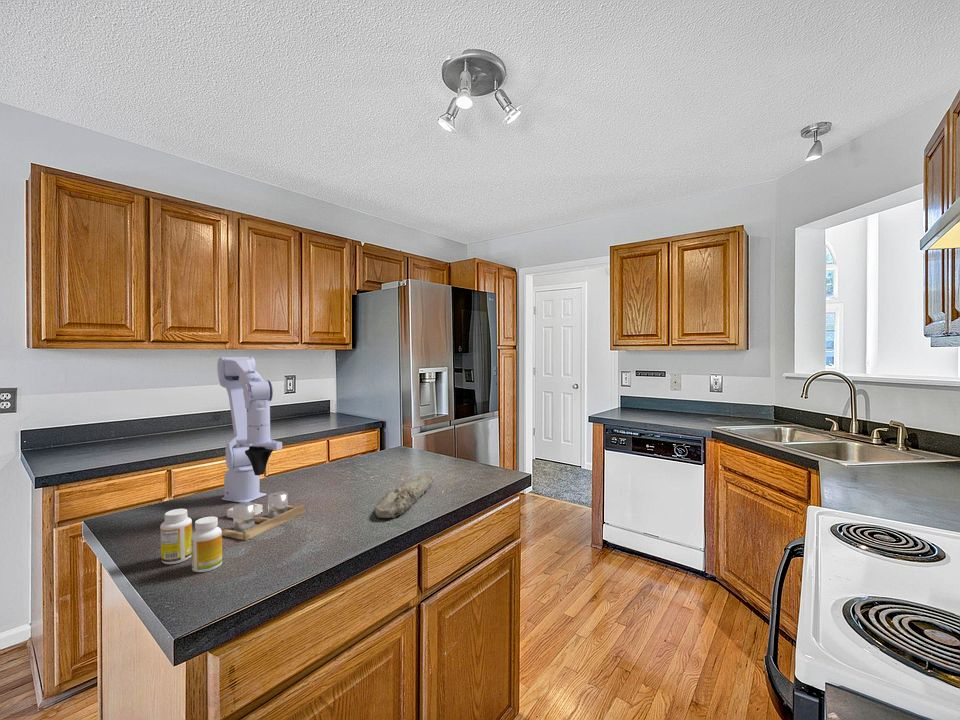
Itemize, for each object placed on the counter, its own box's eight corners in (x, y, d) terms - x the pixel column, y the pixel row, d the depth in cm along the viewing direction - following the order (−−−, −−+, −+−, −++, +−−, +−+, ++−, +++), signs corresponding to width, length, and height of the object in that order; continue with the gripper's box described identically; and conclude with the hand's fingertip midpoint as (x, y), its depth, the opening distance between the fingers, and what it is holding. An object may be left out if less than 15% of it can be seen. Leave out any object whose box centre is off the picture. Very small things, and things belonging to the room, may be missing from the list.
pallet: (221, 535, 106) (221, 527, 106) (282, 508, 124) (282, 501, 124) (246, 540, 103) (245, 532, 103) (304, 512, 121) (304, 505, 121)
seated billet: (263, 518, 116) (263, 496, 116) (278, 512, 121) (277, 490, 121) (277, 521, 115) (277, 498, 115) (291, 514, 119) (291, 492, 119)
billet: (228, 531, 108) (228, 507, 108) (245, 524, 113) (245, 501, 113) (243, 534, 107) (243, 509, 106) (259, 526, 111) (259, 503, 111)
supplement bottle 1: (187, 550, 98) (186, 505, 98) (196, 558, 94) (195, 511, 94) (157, 560, 94) (156, 512, 93) (165, 568, 90) (164, 518, 90)
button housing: (227, 517, 118) (227, 509, 118) (246, 509, 123) (246, 502, 123) (243, 520, 115) (243, 512, 115) (262, 512, 121) (262, 504, 121)
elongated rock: (440, 487, 148) (412, 487, 150) (439, 471, 148) (411, 471, 150) (402, 521, 114) (366, 520, 116) (401, 500, 114) (365, 500, 116)
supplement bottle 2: (228, 562, 92) (227, 516, 92) (205, 575, 87) (204, 526, 87) (209, 558, 94) (208, 513, 94) (185, 570, 89) (184, 523, 89)
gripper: (226, 426, 120) (227, 475, 120) (267, 428, 114) (268, 480, 115) (248, 422, 126) (249, 469, 126) (287, 424, 121) (288, 473, 121)
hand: (259, 474), depth 121 cm, fingers closed
